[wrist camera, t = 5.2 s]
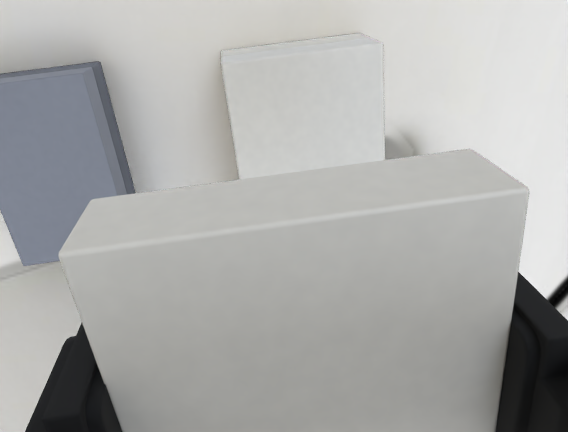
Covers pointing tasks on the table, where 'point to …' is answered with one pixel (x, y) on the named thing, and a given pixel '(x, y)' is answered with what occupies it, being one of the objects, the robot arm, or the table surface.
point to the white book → (305, 298)
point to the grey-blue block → (56, 154)
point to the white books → (305, 104)
